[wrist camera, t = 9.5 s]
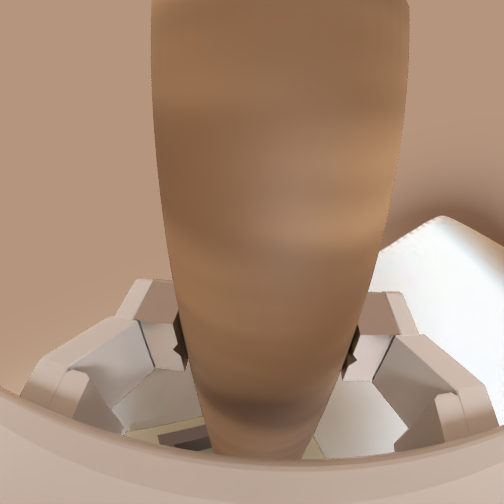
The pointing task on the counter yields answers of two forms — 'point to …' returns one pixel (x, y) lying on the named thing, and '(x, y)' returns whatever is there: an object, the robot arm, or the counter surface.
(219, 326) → the walnut dowel
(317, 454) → the dowel holder
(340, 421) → the counter surface
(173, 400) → the counter surface
